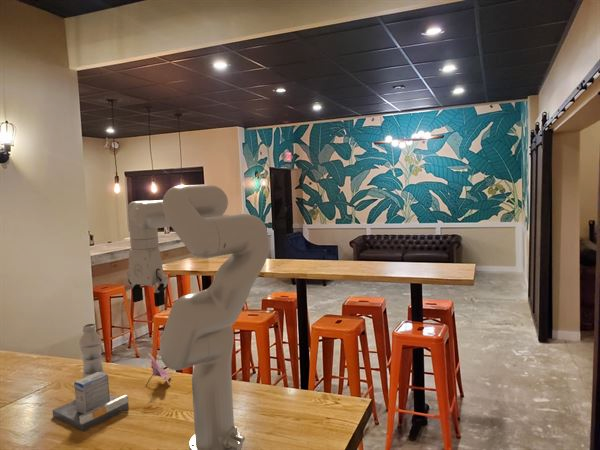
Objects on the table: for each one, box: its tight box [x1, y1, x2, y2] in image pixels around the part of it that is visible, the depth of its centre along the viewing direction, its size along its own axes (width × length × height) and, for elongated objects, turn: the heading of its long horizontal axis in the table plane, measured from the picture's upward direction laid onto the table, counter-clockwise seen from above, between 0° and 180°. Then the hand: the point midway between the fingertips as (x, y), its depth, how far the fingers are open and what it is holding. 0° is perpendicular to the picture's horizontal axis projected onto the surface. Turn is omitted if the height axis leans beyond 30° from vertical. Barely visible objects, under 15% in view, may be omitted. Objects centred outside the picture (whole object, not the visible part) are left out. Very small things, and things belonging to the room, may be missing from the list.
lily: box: [145, 352, 172, 387], centre depth 149 cm, size 12×12×10 cm
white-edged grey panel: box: [51, 394, 130, 432], centre depth 132 cm, size 15×14×4 cm
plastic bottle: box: [79, 323, 105, 379], centre depth 150 cm, size 6×7×20 cm
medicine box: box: [73, 372, 111, 414], centre depth 131 cm, size 8×4×9 cm, turn 150°
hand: (148, 303), depth 133 cm, fingers open, 9 cm apart
